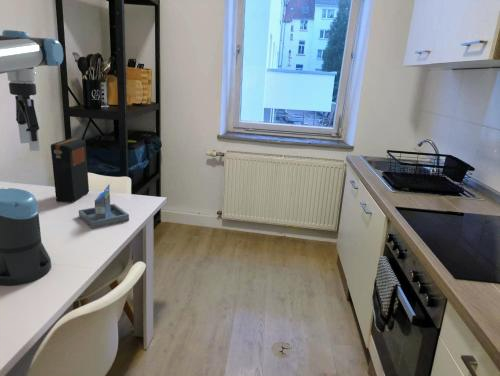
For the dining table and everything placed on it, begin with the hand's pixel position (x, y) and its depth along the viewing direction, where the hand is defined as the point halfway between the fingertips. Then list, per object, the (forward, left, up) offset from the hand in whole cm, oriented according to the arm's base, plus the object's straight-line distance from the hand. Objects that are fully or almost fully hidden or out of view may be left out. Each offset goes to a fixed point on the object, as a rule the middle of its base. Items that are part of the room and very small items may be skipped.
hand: (29, 146), depth 128 cm
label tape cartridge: (-7, -21, -28) cm, 36 cm away
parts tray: (-7, -21, -29) cm, 36 cm away
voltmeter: (+23, -19, -29) cm, 42 cm away
